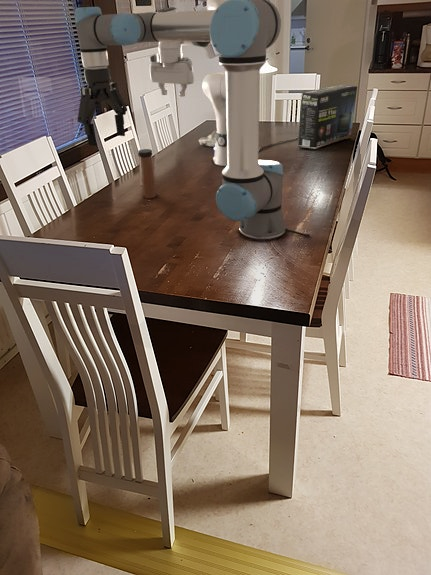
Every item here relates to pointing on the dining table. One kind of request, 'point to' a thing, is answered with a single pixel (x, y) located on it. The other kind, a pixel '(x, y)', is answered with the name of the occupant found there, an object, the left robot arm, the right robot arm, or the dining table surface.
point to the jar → (147, 177)
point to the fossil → (209, 140)
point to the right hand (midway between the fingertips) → (107, 140)
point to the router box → (326, 115)
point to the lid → (145, 153)
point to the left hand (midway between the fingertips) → (173, 95)
